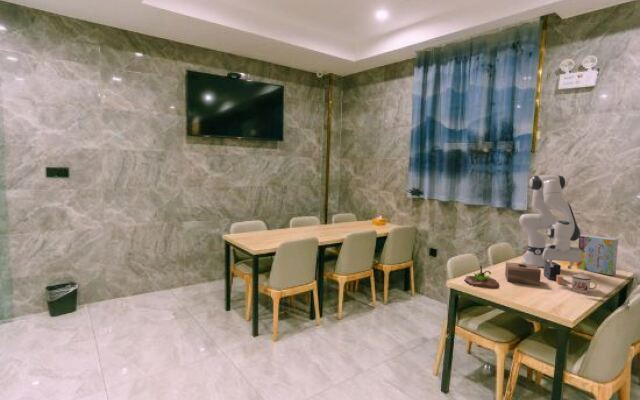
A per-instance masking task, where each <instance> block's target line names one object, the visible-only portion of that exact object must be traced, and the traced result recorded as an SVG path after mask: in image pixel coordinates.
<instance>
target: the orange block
mask: <svg viewBox="0 0 640 400" xmlns="http://www.w3.org/2000/svg"><path fill="white" fill-rule="evenodd" d="M555 283H556V284H557V285H564V284H563V283H564V276H562V275H561V274H560V275H557V277H556V280H555Z"/></svg>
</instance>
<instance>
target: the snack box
mask: <svg viewBox="0 0 640 400" xmlns="http://www.w3.org/2000/svg"><path fill="white" fill-rule="evenodd" d="M618 246H619V239H618V238H612V237H606V236H605V237H602V236H594V235H585V234H584V235H583V234H580V237H579V238H578V247H577V248H579V250H580V249H581V254H580V255H581V262H579V263H577V262H576V263H577V264H576V265H577V266H576V269H578V270H582V271H586V272H591V273H597V274H602V275H607V276H614V275H616V272H617V259H618Z"/></svg>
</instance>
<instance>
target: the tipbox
mask: <svg viewBox="0 0 640 400" xmlns="http://www.w3.org/2000/svg"><path fill="white" fill-rule="evenodd" d="M541 271H542V269H540V268H539V267H538V266H537V265H530V264H523V263H519V262H509V261H505V272H504V274H505V275H504V277H505V279H506V282H509V283H513V284H514V283H515V284H521V285H527V286H529V285H530V286H535V287H537V286H538V287H540V286H541V275H542V273H541Z"/></svg>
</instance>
